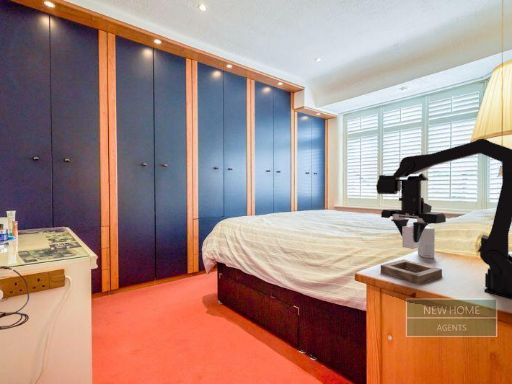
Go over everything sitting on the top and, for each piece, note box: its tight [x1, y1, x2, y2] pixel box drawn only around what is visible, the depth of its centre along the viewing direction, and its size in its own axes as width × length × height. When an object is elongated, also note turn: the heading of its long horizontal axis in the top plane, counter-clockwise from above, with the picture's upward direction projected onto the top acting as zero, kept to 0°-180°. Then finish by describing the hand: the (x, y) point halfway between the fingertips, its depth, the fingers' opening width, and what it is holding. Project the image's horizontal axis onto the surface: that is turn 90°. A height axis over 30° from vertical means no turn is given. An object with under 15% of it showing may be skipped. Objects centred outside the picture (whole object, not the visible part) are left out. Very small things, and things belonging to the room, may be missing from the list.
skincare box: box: [417, 225, 436, 259], centre depth 113 cm, size 6×4×12 cm
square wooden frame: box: [380, 259, 443, 285], centre depth 91 cm, size 13×13×2 cm
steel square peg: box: [401, 224, 420, 250], centre depth 91 cm, size 4×4×7 cm
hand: (410, 241), depth 91 cm, fingers closed on steel square peg, 4 cm apart
